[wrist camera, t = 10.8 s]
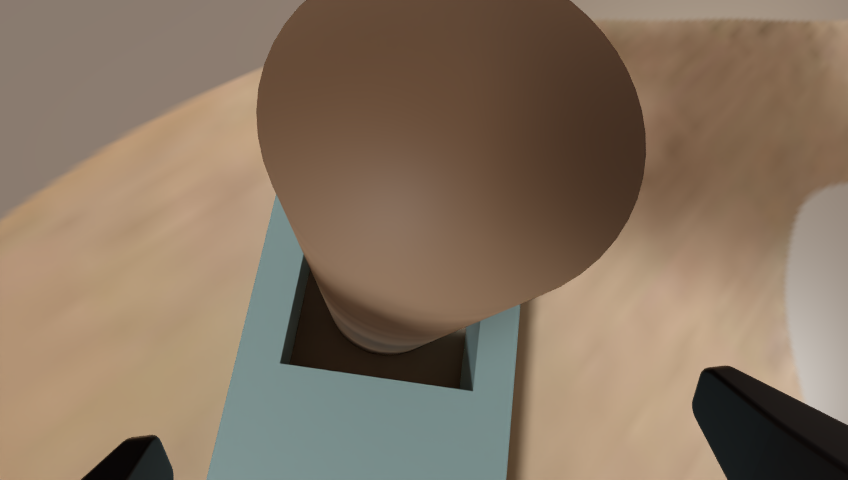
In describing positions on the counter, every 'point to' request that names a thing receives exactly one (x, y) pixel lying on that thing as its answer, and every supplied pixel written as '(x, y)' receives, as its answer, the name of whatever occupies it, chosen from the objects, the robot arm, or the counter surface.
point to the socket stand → (356, 398)
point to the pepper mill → (446, 156)
